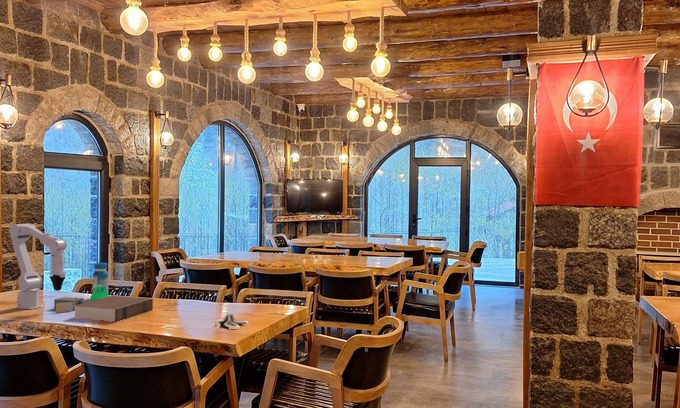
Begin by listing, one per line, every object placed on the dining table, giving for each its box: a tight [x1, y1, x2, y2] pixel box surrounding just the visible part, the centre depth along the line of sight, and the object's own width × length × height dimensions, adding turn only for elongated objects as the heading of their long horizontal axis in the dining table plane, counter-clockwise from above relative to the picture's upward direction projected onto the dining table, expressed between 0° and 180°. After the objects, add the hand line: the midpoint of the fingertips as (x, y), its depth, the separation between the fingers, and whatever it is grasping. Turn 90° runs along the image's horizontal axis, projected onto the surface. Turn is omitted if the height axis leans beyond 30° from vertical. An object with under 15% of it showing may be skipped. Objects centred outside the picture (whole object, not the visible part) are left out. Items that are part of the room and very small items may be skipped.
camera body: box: [53, 296, 85, 310], centre depth 286 cm, size 13×7×6 cm, turn 77°
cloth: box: [211, 312, 249, 329], centre depth 253 cm, size 22×19×6 cm
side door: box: [55, 302, 75, 313], centre depth 278 cm, size 8×1×4 cm, turn 127°
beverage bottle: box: [92, 262, 110, 294], centre depth 315 cm, size 8×8×20 cm
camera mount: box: [87, 285, 110, 302], centre depth 298 cm, size 12×8×10 cm, turn 147°
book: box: [74, 295, 154, 323], centre depth 274 cm, size 24×28×7 cm
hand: (57, 290), depth 281 cm, fingers closed
